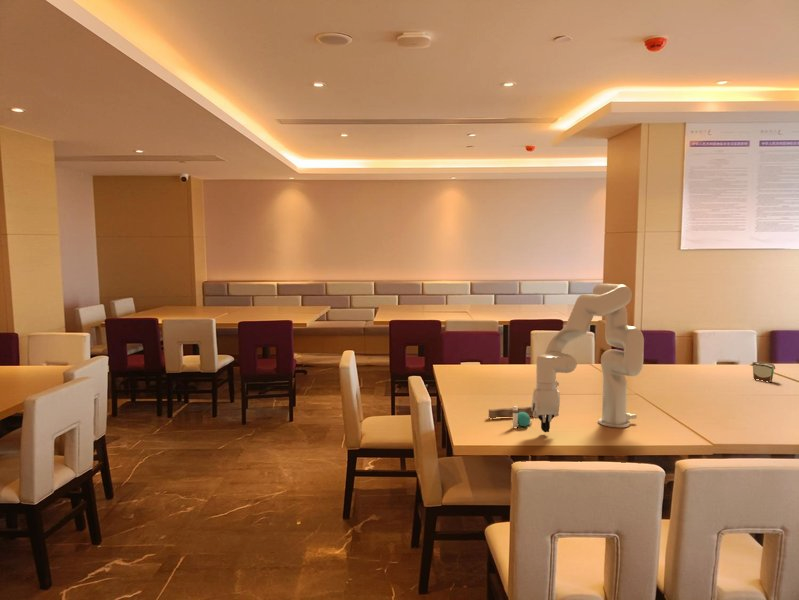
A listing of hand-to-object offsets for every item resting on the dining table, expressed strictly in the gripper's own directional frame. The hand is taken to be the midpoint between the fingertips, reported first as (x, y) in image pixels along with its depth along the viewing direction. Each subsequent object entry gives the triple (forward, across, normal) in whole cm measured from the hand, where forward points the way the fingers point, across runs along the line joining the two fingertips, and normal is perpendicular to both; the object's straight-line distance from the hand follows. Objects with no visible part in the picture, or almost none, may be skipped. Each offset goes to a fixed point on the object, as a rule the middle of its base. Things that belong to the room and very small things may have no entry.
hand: (545, 431), depth 218 cm
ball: (-2, +4, -12) cm, 13 cm away
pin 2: (0, +1, -12) cm, 12 cm away
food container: (+2, -164, -59) cm, 174 cm away
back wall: (+2, +2, -25) cm, 25 cm away
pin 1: (+2, +8, -11) cm, 14 cm away
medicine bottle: (+2, -23, -41) cm, 47 cm away
